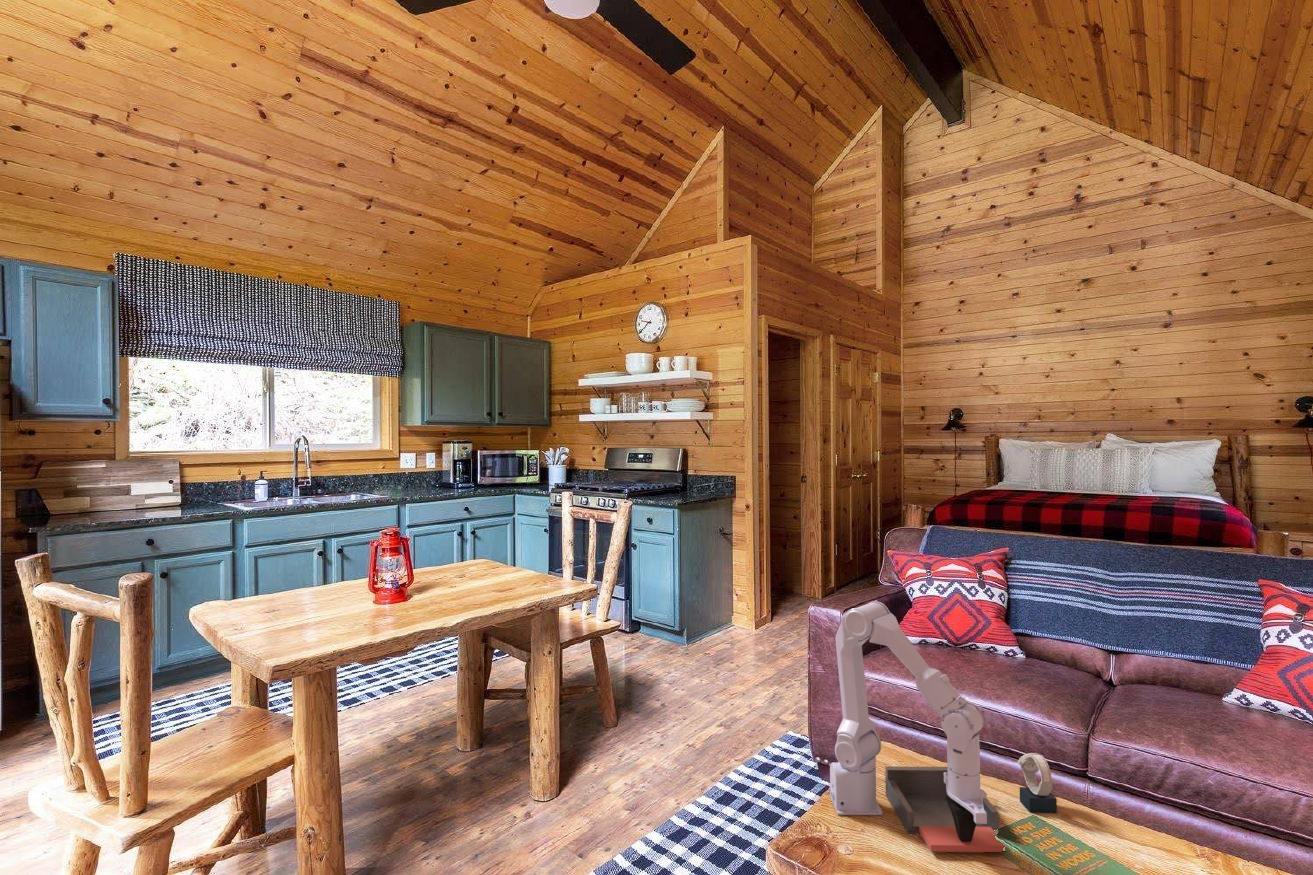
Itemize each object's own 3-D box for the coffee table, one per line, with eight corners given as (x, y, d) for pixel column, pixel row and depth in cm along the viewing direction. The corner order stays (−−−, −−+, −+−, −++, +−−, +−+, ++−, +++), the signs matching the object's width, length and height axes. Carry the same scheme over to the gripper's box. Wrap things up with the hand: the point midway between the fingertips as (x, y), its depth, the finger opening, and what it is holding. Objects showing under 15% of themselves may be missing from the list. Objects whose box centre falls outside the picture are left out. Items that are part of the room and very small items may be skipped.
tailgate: (919, 834, 129) (930, 853, 123) (919, 826, 129) (930, 844, 123) (990, 835, 129) (1005, 854, 123) (990, 826, 129) (1005, 845, 123)
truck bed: (907, 833, 130) (907, 801, 130) (885, 795, 144) (885, 766, 144) (998, 834, 129) (998, 802, 130) (967, 796, 144) (967, 766, 144)
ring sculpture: (1041, 796, 143) (1040, 747, 143) (1061, 818, 135) (1060, 765, 135) (1014, 796, 143) (1014, 746, 143) (1033, 817, 135) (1032, 764, 135)
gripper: (1003, 789, 117) (1004, 864, 117) (968, 750, 132) (969, 817, 132) (963, 788, 117) (965, 863, 117) (932, 750, 132) (933, 817, 132)
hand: (964, 839), depth 124 cm, fingers closed
